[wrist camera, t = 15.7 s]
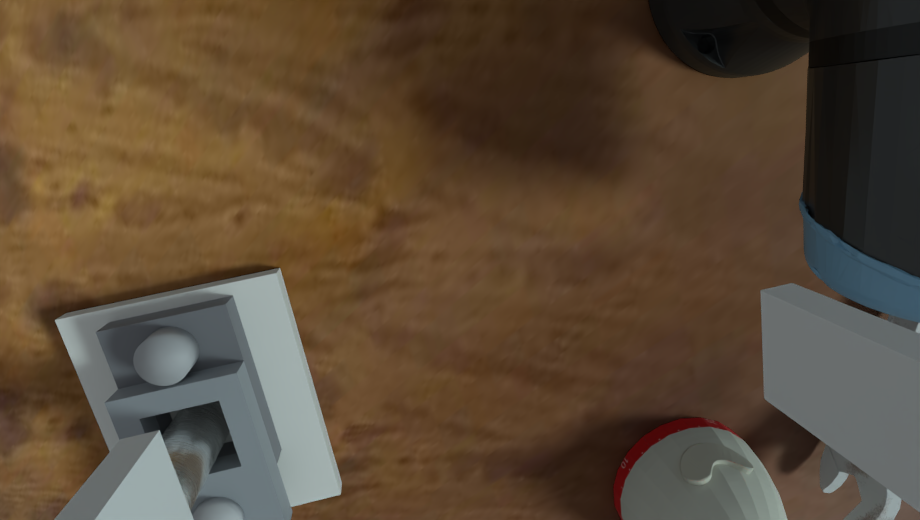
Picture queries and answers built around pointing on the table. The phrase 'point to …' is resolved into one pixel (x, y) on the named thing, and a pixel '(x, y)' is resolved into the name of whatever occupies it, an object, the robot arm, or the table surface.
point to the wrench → (862, 473)
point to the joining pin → (195, 445)
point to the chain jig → (213, 387)
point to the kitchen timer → (694, 476)
